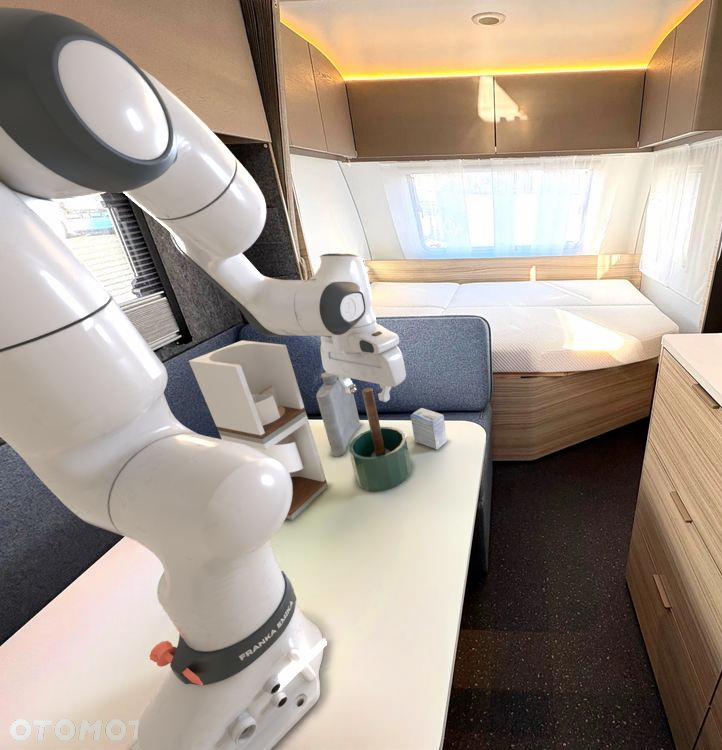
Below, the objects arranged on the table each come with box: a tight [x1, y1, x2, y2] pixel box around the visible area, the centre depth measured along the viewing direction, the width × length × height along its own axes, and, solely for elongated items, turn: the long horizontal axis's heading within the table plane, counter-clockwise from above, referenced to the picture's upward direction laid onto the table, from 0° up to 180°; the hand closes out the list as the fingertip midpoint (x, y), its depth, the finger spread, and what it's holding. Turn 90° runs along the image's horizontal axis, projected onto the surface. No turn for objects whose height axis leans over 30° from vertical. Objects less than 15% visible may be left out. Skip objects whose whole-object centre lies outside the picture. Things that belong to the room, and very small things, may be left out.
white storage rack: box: [188, 340, 328, 521], centre depth 79 cm, size 11×11×35 cm
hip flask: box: [315, 371, 361, 457], centre depth 102 cm, size 16×4×20 cm, turn 1°
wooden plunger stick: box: [361, 387, 390, 457], centre depth 88 cm, size 4×4×22 cm
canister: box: [348, 426, 412, 492], centre depth 91 cm, size 13×13×9 cm
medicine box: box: [410, 407, 448, 451], centre depth 102 cm, size 8×4×9 cm, turn 58°
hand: (368, 396), depth 83 cm, fingers open, 8 cm apart
